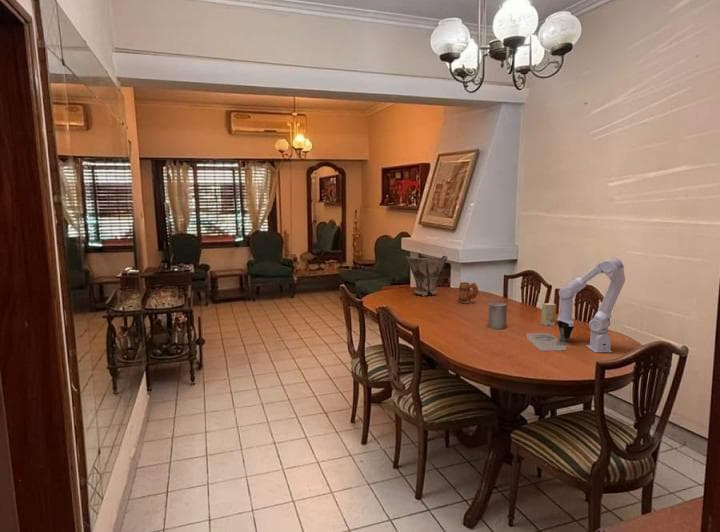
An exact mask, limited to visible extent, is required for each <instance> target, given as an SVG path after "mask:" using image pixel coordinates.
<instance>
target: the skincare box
mask: <svg viewBox="0 0 720 532" xmlns="http://www.w3.org/2000/svg"><path fill="white" fill-rule="evenodd" d="M556 311H557V304H556V303H553V302H546V303H542V307H541V319H540V320H541V322H540V324H541V325H543V326H545V327H546V326H548V325H549V326H555V325H556ZM549 326H548V327H549Z"/></svg>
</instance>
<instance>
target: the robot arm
mask: <svg viewBox="0 0 720 532" xmlns="http://www.w3.org/2000/svg"><path fill="white" fill-rule="evenodd" d="M624 269H625V265H624V264H623V262H622V261H621V260H620V258H617V257H611V258H609V259H604V260H602V261H601V262H599V263H598V264H596V265H594V266H593V267H592V268H590V269H589V271H587V272H586V273H585V274H584V275H582V276H577V277H573V278H572V281H570V282H569V283H566V284H565V287H560V289H559V290H558V297H559V298H560V299H559V300H560V301H559V314H558V315H557V318H556V324H557V326H558V328H559V329H558V330H559V331H560V327H563V330H564V338H569V339H570V336H571V334H572V331H573V330H574V328H575V325H574V322H573V309H574V308H573V305H574V303H573V302H574V298H575V296H576V294H578V293H579V292H580V291H582V290H583V289H584V288H586V286H587V283H588V282H589V281H591V280H592V279H593V278H595V277H597V276H598V275H600V274H605V276H607V278H608V279H609V280H610V283H609V286H608V287H607V290H606V292H605V294H604V297H603V299H602V302H601V303H600V306H599V309H598V311H596V313H595V314H594V317H593V318H592V319H590V320H589V321H588V327H589V329H590V336H589V338H590V339H589V344H586V345H585V346H586V347H587V348H588V349H590V350H591V351H592V352H594V353H613V351H612V350H611V345H612V344H611V343H612V339H611V337H610V335H609V333H608V332H609V329H608V328H610V326H611V318H612V312H613V309H614V307H615V305H616V303H617V301H618V298H619V295H620V294H621V291H622V289H623V287H624V285H625V281H626V276H625V271H624Z"/></svg>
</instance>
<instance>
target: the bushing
mask: <svg viewBox="0 0 720 532" xmlns="http://www.w3.org/2000/svg"><path fill="white" fill-rule="evenodd" d="M559 340H560V341H561V342H562V343H564V342H568V343H570V337H569V338H564V330H563V327H560V330H559Z"/></svg>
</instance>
